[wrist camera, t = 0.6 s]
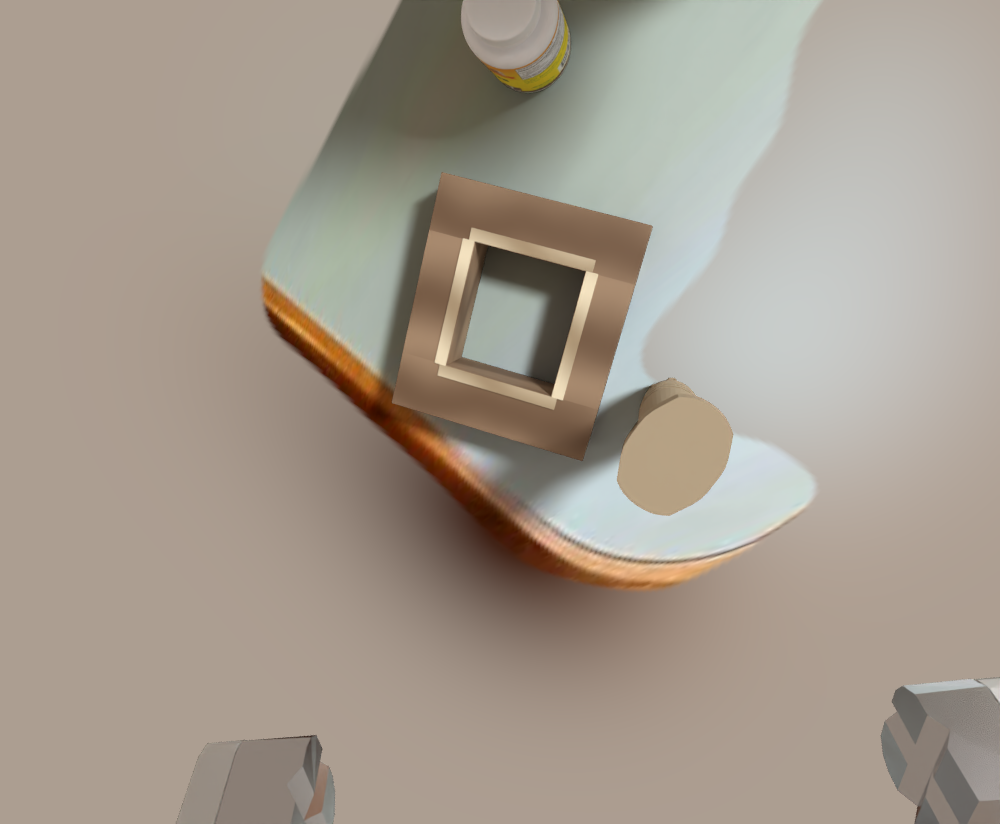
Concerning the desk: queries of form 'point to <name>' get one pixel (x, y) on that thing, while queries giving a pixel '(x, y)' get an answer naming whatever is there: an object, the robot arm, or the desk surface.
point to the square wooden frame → (451, 296)
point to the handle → (673, 449)
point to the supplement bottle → (518, 40)
